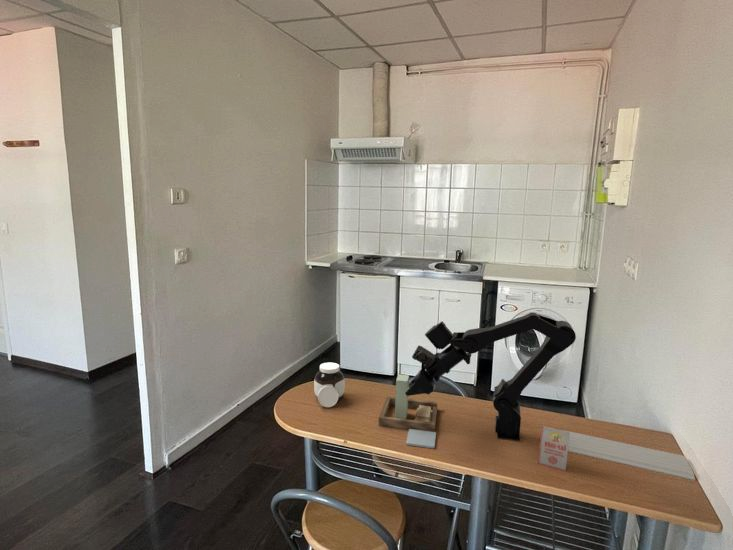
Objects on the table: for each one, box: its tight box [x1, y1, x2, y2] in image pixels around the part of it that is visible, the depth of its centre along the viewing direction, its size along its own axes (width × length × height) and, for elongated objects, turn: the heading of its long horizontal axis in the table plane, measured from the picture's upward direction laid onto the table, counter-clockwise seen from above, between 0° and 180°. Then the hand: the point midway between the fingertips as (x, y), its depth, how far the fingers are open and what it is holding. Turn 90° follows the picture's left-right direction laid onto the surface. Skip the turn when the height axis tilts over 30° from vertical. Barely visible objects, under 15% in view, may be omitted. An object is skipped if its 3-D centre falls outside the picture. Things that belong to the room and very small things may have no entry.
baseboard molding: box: [561, 427, 696, 482], centre depth 120 cm, size 31×3×12 cm
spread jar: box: [313, 361, 346, 408], centre depth 149 cm, size 12×11×12 cm
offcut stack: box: [414, 405, 433, 422], centre depth 138 cm, size 5×10×2 cm, turn 168°
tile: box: [405, 429, 437, 449], centre depth 126 cm, size 8×8×1 cm
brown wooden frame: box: [378, 396, 438, 432], centre depth 139 cm, size 17×15×2 cm
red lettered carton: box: [537, 425, 571, 472], centre depth 115 cm, size 4×7×10 cm, turn 62°
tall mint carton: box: [394, 373, 410, 419], centre depth 139 cm, size 4×5×13 cm
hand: (409, 388), depth 138 cm, fingers open, 9 cm apart
